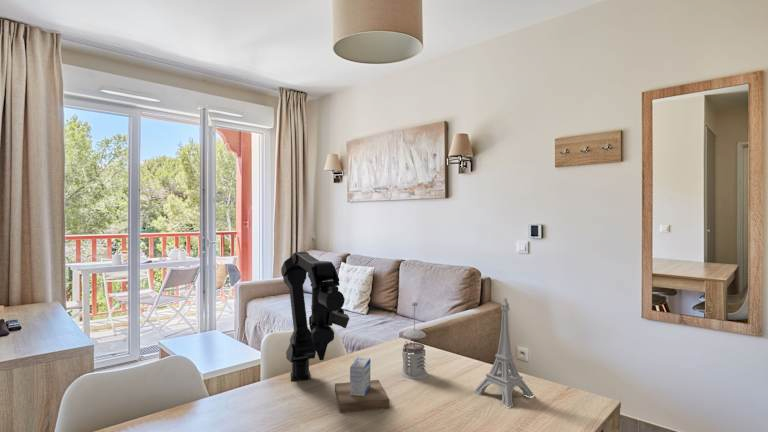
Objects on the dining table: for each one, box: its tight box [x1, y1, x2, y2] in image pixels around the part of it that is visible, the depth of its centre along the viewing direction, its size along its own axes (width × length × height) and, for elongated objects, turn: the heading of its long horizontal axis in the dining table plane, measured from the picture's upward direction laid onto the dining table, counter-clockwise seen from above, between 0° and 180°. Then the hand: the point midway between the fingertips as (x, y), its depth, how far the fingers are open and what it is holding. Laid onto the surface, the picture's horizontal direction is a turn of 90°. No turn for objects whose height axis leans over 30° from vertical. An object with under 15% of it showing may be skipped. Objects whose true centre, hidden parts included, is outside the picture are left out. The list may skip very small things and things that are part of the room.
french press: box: [399, 301, 429, 380], centre depth 143 cm, size 10×12×25 cm
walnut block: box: [334, 379, 390, 414], centre depth 123 cm, size 14×14×2 cm
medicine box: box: [349, 357, 371, 397], centre depth 123 cm, size 8×4×9 cm, turn 169°
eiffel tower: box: [472, 297, 535, 407], centre depth 128 cm, size 13×13×30 cm
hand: (320, 354), depth 125 cm, fingers open, 9 cm apart
